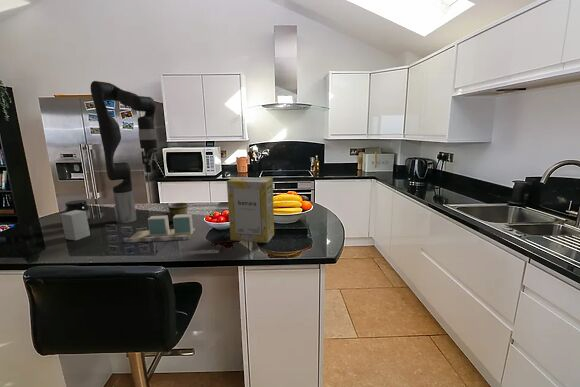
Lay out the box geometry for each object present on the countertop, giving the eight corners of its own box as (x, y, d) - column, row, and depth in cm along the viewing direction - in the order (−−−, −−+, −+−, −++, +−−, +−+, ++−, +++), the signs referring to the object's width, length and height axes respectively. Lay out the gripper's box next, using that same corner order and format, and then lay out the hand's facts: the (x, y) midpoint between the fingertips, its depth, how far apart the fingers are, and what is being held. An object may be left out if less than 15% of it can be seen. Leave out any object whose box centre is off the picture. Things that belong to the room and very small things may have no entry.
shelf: (124, 245, 125) (123, 239, 124) (138, 233, 139) (137, 227, 139) (189, 242, 128) (188, 235, 127) (196, 230, 142) (195, 224, 142)
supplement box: (90, 235, 138) (86, 210, 135) (75, 240, 131) (70, 215, 129) (80, 233, 141) (75, 209, 138) (64, 239, 134) (59, 213, 131)
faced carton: (174, 235, 132) (172, 217, 130) (177, 232, 137) (175, 214, 135) (191, 235, 133) (189, 217, 131) (193, 231, 137) (191, 214, 135)
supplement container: (63, 224, 155) (59, 203, 152) (83, 218, 165) (79, 198, 162) (76, 226, 151) (71, 205, 149) (95, 220, 161) (91, 200, 158)
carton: (150, 237, 130) (147, 219, 128) (153, 233, 135) (151, 216, 133) (166, 236, 131) (164, 218, 129) (169, 233, 136) (167, 215, 134)
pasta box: (230, 239, 130) (226, 181, 124) (239, 231, 140) (236, 177, 134) (267, 242, 126) (265, 182, 120) (274, 234, 136) (272, 178, 130)
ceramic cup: (192, 221, 156) (191, 204, 154) (175, 226, 149) (173, 208, 147) (181, 217, 165) (180, 200, 163) (164, 221, 158) (162, 204, 156)
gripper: (150, 139, 131) (154, 173, 135) (160, 138, 145) (164, 169, 149) (133, 139, 131) (138, 173, 134) (145, 138, 144) (149, 169, 148)
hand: (152, 171), depth 142 cm, fingers open, 8 cm apart
